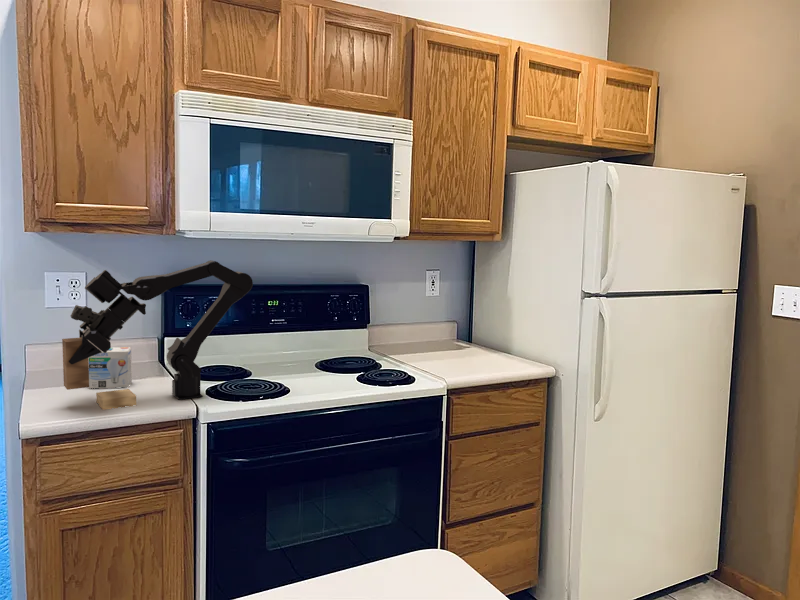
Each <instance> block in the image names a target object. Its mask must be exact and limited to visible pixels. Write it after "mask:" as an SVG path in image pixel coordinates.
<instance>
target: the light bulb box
mask: <svg viewBox="0 0 800 600" xmlns="http://www.w3.org/2000/svg"><path fill="white" fill-rule="evenodd" d="M88 363H89V387H88V389H89V390H93V388H94V390H95V388H99V389H116V388H115V387H128V388H129V387H130V386H131V384H132V383H131V382H133V381H132V377H133V376H132V373H133V372H132V346H122V347H121V346H120V347H119V346H118V347H117V346H115V347H111V348H110V349H109V350H108V351H107V352H106V353H104V352H103V351H102V353H99V354H96V355H94V356H91V357H89V358H88ZM129 385H130V386H129ZM91 388H92V389H91Z"/></svg>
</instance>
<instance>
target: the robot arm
mask: <svg viewBox="0 0 800 600" xmlns="http://www.w3.org/2000/svg"><path fill="white" fill-rule="evenodd" d="M210 277H214V278H216V279H217V280H220V282H224V283H223V284H222V287H221V290H220V293H219V295H218V297H216V299H215V300H214V302H213V303H212V304H211V305H210V307H209V308H208V309H207V311H206V312H205V313H204V314H203V315H202V316H201V318H200V320H199V321H198V322H197V324H196V325H195V326H194V327H193V328H192V329H191V331H190V332H189V334H187V336H185V337H184V338H182V339H180V338H179V337H176V338H175V339H174V342H173V343H172V345H171V346H169V347H168V348H167V350H168V352H167V353H166V361H167V363H168V364H169V366H170V367H171V368H172V369H173V370H174V371H175V372H176V373H174V374H173V379H172V381H171V382H172V385H171V386H172V387H171V390H172V393H171V394H172V396H174V398H176V399H178V400H179V401H180V400H188V399H196V398H197V399H198V398H203V394H202V392H201V372H202V368H201V367H200V366H199V365H198V364H196V363H195V360H196V358H197V356H198V353H199V351H200V349H201V345H202V344H203V343H204V341H206V339H207V338H208V336H209V335H210V334H211V333H212V331H213V330H214V328H215V327H216V326H217V325H218V324H219V322H221V320H222V318H223V317H224V315H225V314H226V313H227V312H228V311H229V309H230V308H231V307H232V306H233V305H234V304H235V303H237V302H238V301H239V300H241V299H243V297H245V296H246V295H247V294H248V293H249V292H250V291H251V290H252V288H253V287H254V286H253V285H254V284H253V283H254V282H253V279H252V277H251V276H250V274H248V273H245V272H242V271H234V270H232V269H230V268H228V267H226V266H224V265H222V264H221V263H220V262H218V261H216V260H208V261H206V262H202V263H200V264H197V265H193V266H190V267H186V268H183V269H182V268H181V269H180V270H175V271H172V272H169V273H166V274H156V275H155V274H153V275H144V276H139V277H136V278H134V280H133V281H129V282H122V283H121V282H119V281H118V280H117V279H116V278H114V276H112V274H111V273H110V272H109V271H108V270H107V269H105V270H104V269H103V271H102V272H101V273H99V274H97V276H95V277H93V278H92V279H91V280H90V281H89V282H88V283H87V284H85V287H84V289H85V290H86V291H87V292H88V293H90V294H91V295H92V296H93V297H94V298H95V299H97V300H98V301H99V302H100V303H101V304H104V303H105V302H106V303H108V304H110V305H108V306H107V308H106V309H105V310H104V309H101V310H100V311H99V312H96V311H95V310H93V309H92V308H91V307H88V306H80V305H78V304H75V306H74V307H73V310H72V312H71V314H70V318H71V319H72V320H75V321H80V322H82V323H81V324H80V325H79V328H80V329H79V330H78V332H79V333H78V335H79V337H78V338H81V337H82V344H81V345H80V347H79V348H78V349H77V351H76V352H75V353H74V355H73V356H72V357H71V359H70V360H69V363H70V364H74V363H77V362H79V361H81V360H84V359H86V358H88V359H89V357H91V356H94V355H96V354H99V353H102V351H103V352H104V353H106V352H107V351H108V350H109V349H110V348H112V347H111V346H112V345H111V341H110V340H112V338H111V337H112V336H113V335H115V333H116V332H118V331H119V330H122V329H123V328H124V325H125V324H126V323H127V322H128V320H130V319H131V317H133V316H134V315H135V313H137V312H138V311H139V312H140V313H141V314H142V315H146V314H147V312H146V306H147V304H146V303H145V302H144V303H140V302H139V301H138V299H139V300H141V301H150V300H152V299H154V298H156V297H158V296H161V295H163V294H164V293H165V292H167V291H169V290H171V289H173V288H176V287H180V286H183V285H185V284H186V285H187V284H189V283H194V282H196V281H200V280H203V279H206V278H210ZM121 290H122V291H123V292H124V293H126V294H128V295H133V296H135V297H136V298H137V299H136V298H134V297H133V296H129V298H128V297H127V296H126V295H125V294H124V293H123V292H121ZM112 301H113V302H112Z"/></svg>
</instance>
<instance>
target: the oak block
mask: <svg viewBox="0 0 800 600" xmlns="http://www.w3.org/2000/svg"><path fill="white" fill-rule="evenodd" d="M95 394H96V396H95V398H96V403H98V404H99V405H98V404H97V405H98V406H99V407H100V408H101V410H102V411H104V410H111V409H112V408H114V409H119V408H118V407H121V408H126V407H125V406H129V407H134V406H133V405H136V406H137V395H136V394H135V393H134V392H133V391H132V390H130V389H129V388H123V389H117V390H108V391H107V390H106V391H99V392H98V391H97V392H96V393H95Z"/></svg>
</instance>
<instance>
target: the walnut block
mask: <svg viewBox="0 0 800 600" xmlns="http://www.w3.org/2000/svg"><path fill="white" fill-rule="evenodd" d="M61 340H62V343H61V345H62V346H61V347H62V364H63V365H62V372H63V386H64V388H65V389H66V390H77V389H84V388H85V389H86V388H89V358H86V359H84V360H81V361H79V362H77V363H74V364H70V363H69V360H70V359H71V357H72V356H73V355H74V353H75V352H76V351H77V349H78V348H79V347H80V345H81V344H82V337H81V338H79V337H69V338H61Z"/></svg>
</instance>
